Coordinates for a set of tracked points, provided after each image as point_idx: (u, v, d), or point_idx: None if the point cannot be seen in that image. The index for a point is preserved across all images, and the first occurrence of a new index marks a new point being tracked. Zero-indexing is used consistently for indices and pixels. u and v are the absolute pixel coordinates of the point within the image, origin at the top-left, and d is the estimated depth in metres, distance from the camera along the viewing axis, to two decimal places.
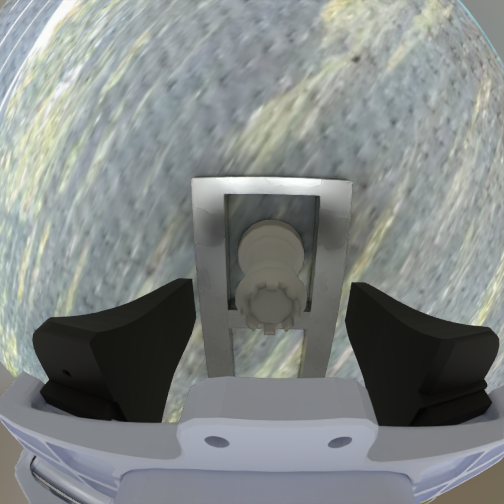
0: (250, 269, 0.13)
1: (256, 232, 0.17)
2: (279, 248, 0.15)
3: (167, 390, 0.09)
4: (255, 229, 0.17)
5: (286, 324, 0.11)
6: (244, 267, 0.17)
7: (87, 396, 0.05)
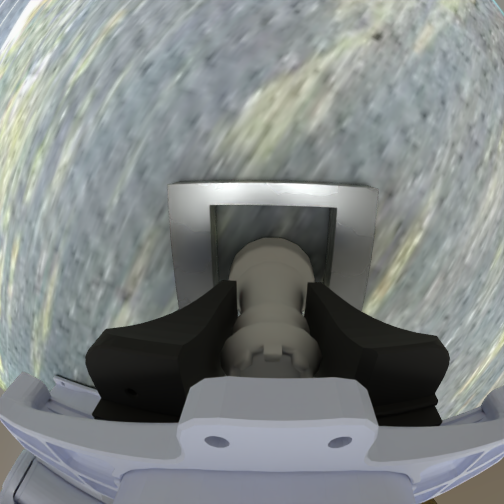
0: (242, 316, 0.09)
1: (252, 256, 0.13)
2: (282, 281, 0.11)
3: None
4: (251, 251, 0.13)
5: None
6: None
7: (155, 415, 0.05)
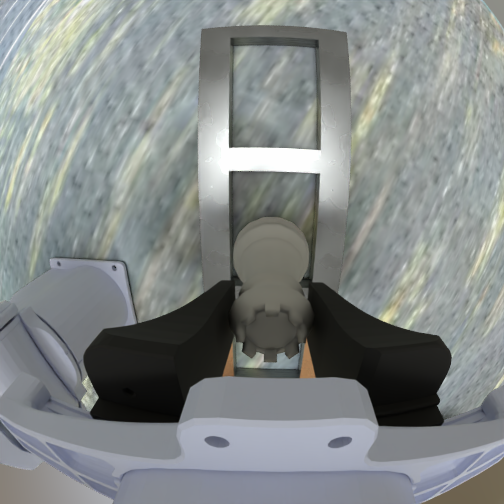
0: (246, 283, 0.11)
1: (254, 233, 0.14)
2: (280, 254, 0.13)
3: None
4: (253, 229, 0.14)
5: (289, 351, 0.09)
6: (240, 273, 0.14)
7: (152, 414, 0.05)
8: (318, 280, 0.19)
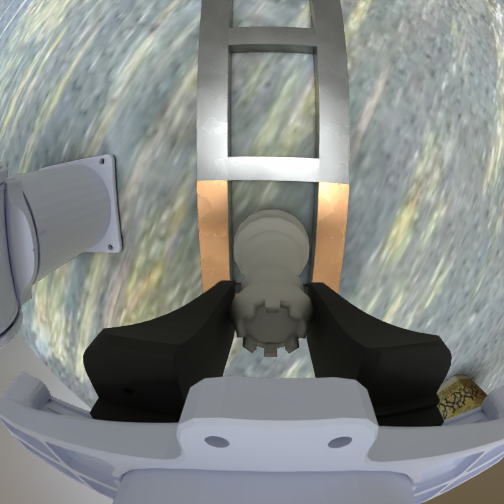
0: (246, 277, 0.11)
1: (254, 226, 0.14)
2: (280, 248, 0.13)
3: None
4: (253, 222, 0.14)
5: (289, 346, 0.10)
6: (241, 266, 0.15)
7: (152, 414, 0.05)
8: (325, 149, 0.16)
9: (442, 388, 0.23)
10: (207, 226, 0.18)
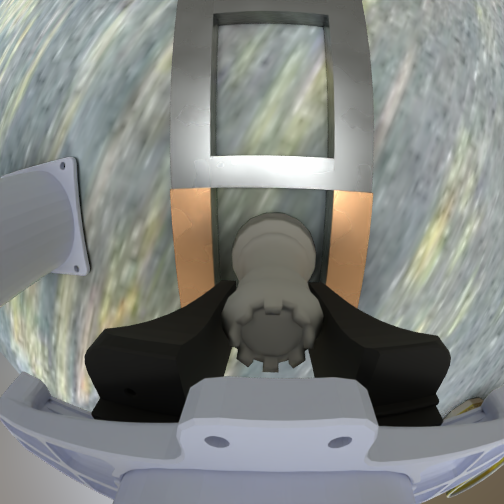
0: (244, 279, 0.10)
1: (254, 229, 0.13)
2: (284, 250, 0.11)
3: None
4: (253, 224, 0.13)
5: (293, 359, 0.08)
6: (239, 274, 0.13)
7: (154, 414, 0.05)
8: (343, 146, 0.12)
9: (455, 414, 0.19)
10: (186, 248, 0.14)
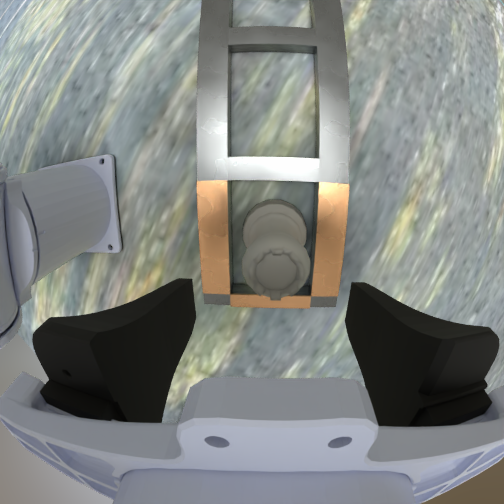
0: None
1: (260, 210, 0.17)
2: (282, 223, 0.16)
3: (167, 390, 0.09)
4: (259, 207, 0.17)
5: (291, 289, 0.12)
6: (249, 244, 0.17)
7: (87, 396, 0.05)
8: (326, 149, 0.16)
9: None
10: (207, 226, 0.18)
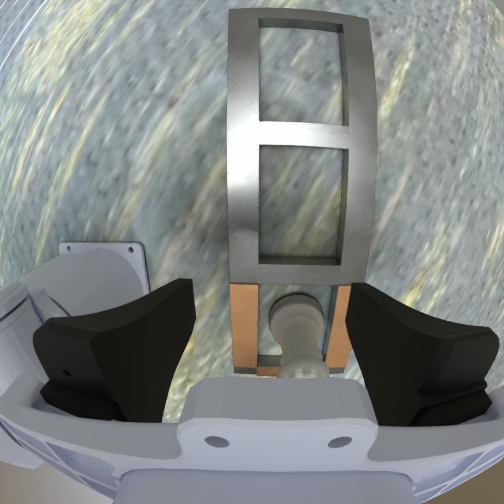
0: (286, 351, 0.16)
1: (287, 310, 0.20)
2: (306, 328, 0.18)
3: (167, 390, 0.09)
4: (285, 306, 0.20)
5: None
6: (276, 337, 0.20)
7: (87, 396, 0.05)
8: (347, 257, 0.18)
9: None
10: (238, 319, 0.20)
